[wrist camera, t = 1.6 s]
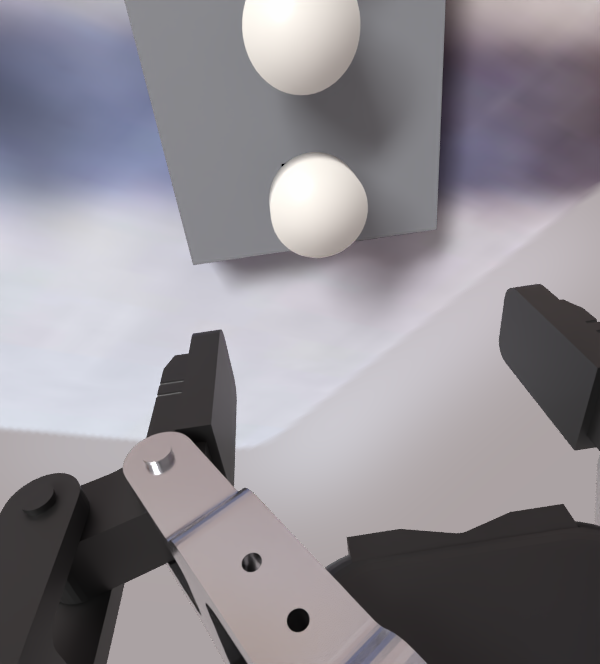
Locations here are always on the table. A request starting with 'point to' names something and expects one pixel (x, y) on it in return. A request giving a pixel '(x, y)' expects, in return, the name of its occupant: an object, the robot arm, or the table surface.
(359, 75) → the control board
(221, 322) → the table surface
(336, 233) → the knob
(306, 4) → the knob middle
